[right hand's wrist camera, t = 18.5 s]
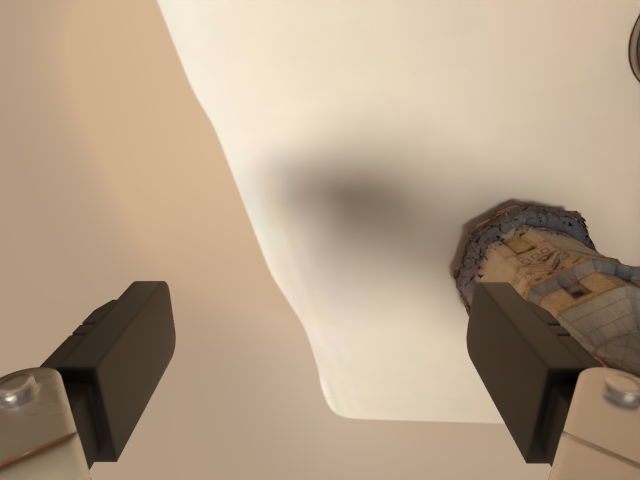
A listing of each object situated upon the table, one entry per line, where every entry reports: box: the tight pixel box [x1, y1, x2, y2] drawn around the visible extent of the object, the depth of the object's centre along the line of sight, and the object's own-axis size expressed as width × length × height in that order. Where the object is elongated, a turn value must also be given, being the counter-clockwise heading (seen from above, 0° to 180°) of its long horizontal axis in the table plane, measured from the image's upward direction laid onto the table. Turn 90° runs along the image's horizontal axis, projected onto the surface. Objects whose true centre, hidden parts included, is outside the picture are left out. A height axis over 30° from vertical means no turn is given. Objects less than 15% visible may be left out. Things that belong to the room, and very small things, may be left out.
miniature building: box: [454, 203, 640, 378], centre depth 31 cm, size 13×14×30 cm
